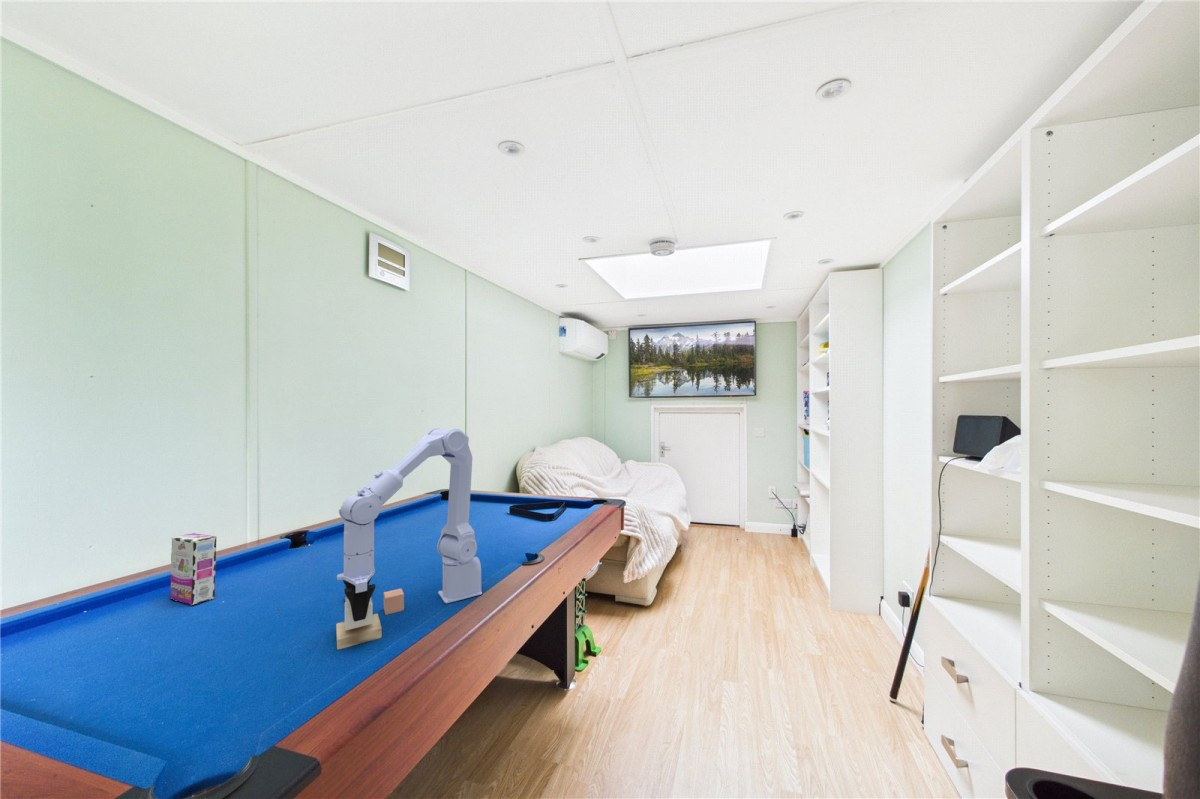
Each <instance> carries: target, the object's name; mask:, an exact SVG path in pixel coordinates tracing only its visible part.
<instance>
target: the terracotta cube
mask: <svg viewBox="0 0 1200 799" xmlns="http://www.w3.org/2000/svg"><path fill="white" fill-rule="evenodd" d="M383 610H384V614H385V616H386V615H391V614H395V613H398V612H402V611H405V593H404V591H403V589H402V588H397V589H393V590H389V591H384V592H383Z"/></svg>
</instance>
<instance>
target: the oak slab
mask: <svg viewBox="0 0 1200 799" xmlns="http://www.w3.org/2000/svg"><path fill="white" fill-rule="evenodd" d="M335 630H336V632H335V633H336V634H335V635H336V637H335V638H336V650H338V651H339V650H342V649H347V648H349V647H353V646H357V645H359V644H364V643H366V642H367V643H368V642H370V641H375V640H377V639H381V638H382V635H383V634H382V630H383V629H382V625H381V621H380V618H379V613H374V614H373V624H369V625H365V626H361V627H358V628H354V629H350V630H346V631H345V621H341V622H337V623H336V626H335Z"/></svg>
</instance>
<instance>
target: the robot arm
mask: <svg viewBox="0 0 1200 799" xmlns="http://www.w3.org/2000/svg"><path fill="white" fill-rule="evenodd" d="M469 437H470V436H468V435H467V434H465V432H464V431H462V429H460V428H448V429H447V428H433V429H431V430H429V431H428V433H427V434H425V435H423V436H422V437H421V439H420V440H419V442H418V443H417V444H416V445H415V446H414V447H413V448H412V449H411V450H409V451H408V453H407V454H406V455H405V456H404V457H402V459H401V460H400V461H399V462H398V463H397V464H396V465H394V467H393V468H392V469H383V470H381V471H377V472H376V473H375V474H373V476H374V478H373V479H372V480H371V481H369V482H368V483H367V484H365V486H364V487H362V488H361V487H360V488H359V489H358V490H357V491H356V492H357V494H353V495H351V496H348V497H347V498H345V499H344V501H343V502H342V505H341V507H340V508H339V509H338V514H339V516H340V518H341V519H343V525H344V526H343V572H342V573H337V575H336V579H337V581H342V583H343V584H344V589H343V590H344V594H345V595H346V597H347V598H348V600H349V602H350V605H351V610H352V616H353V619H354V622H355V621H359V620H363V619H365V618H366V615H367V610H368V605H369V601H370V598H371V599H372V596H373V593H374V591H375V589H376V583H372V584H370V583H371V580H372V578H373V576H374V574H375V573H376V569H375V520H376V519H378V516H379V514H380V511H381V507H383V505H385V504H386V503H387V502H388V501H389V500H390V499H391V498H392V497H393V496H394V495H395V494H396V493H397V492H398V491H399V490H401V488H402V487H403V486H404V479H405V478H407V476H409V474H410V473H412V472H413V471H414V470H416V469H417V468H418V467H419V466H420V465H422V463H424V462H425V461H426V460H427V459H428V458H430V457H438V456H442V457H443V458H444V459H445V460H446V461H447V462H448V463H449V464H450V470H449V473H450V474H449V485H448V486H449V487H448V503H447V504H448V505H447V518H446V519H447V520H446V524H445V525H444V526H443V527H442V528H441V532H440V537H439V539H438V541H437V545H436V550H437V553H438V554H439V555H440V556H441V561H442V590H438V592H437V593H438V595H439V597H440V599H442V601H443V603H445V604H450V603H454V602H458V601H461V600H465V599H469V598H472V597H474V598H475V597H476V596H480V595H482V594H483V592H482V566H481V561H480V558H479V557H478V556H476V554H477V550H478V543H477V540H476V532H475V530H474V528H472V526H471V524H470V523H469V522H470V506H471V505H470V504H471V490H472V488H471V487H472V472H473V453H472V451H471V448H470V445H469V440H470V439H469ZM345 586H346V587H347V588H345ZM345 595H344V596H345Z"/></svg>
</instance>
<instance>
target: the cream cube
mask: <svg viewBox="0 0 1200 799" xmlns="http://www.w3.org/2000/svg"><path fill="white" fill-rule="evenodd" d="M373 612H374V611H373V600H372V597H371V598H370V601H369V605H368V610H367V615H366V618H365V619H363V620H359V621H355V622H354V619H353V616H352V610H351V605H350V602H349V601H348V602H346V601H345V602H344V622H345V631H346V630H350V629H354V628H358V627H361V626H365V625H369V624H373Z"/></svg>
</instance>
